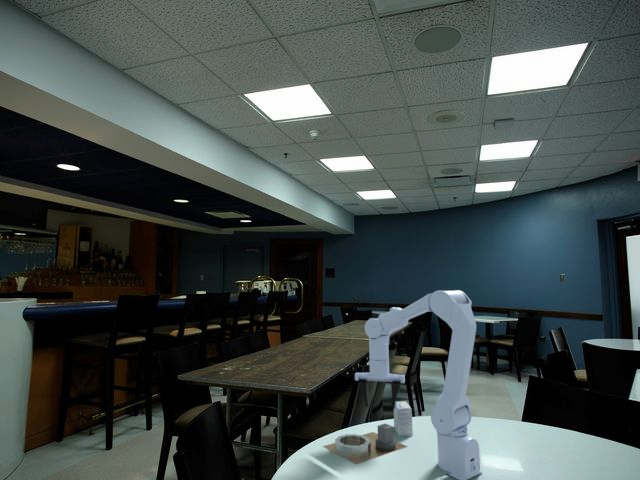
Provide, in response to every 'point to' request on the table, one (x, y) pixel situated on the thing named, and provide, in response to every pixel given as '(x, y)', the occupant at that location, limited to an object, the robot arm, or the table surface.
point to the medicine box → (403, 419)
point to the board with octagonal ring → (359, 447)
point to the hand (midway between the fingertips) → (380, 406)
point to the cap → (385, 438)
